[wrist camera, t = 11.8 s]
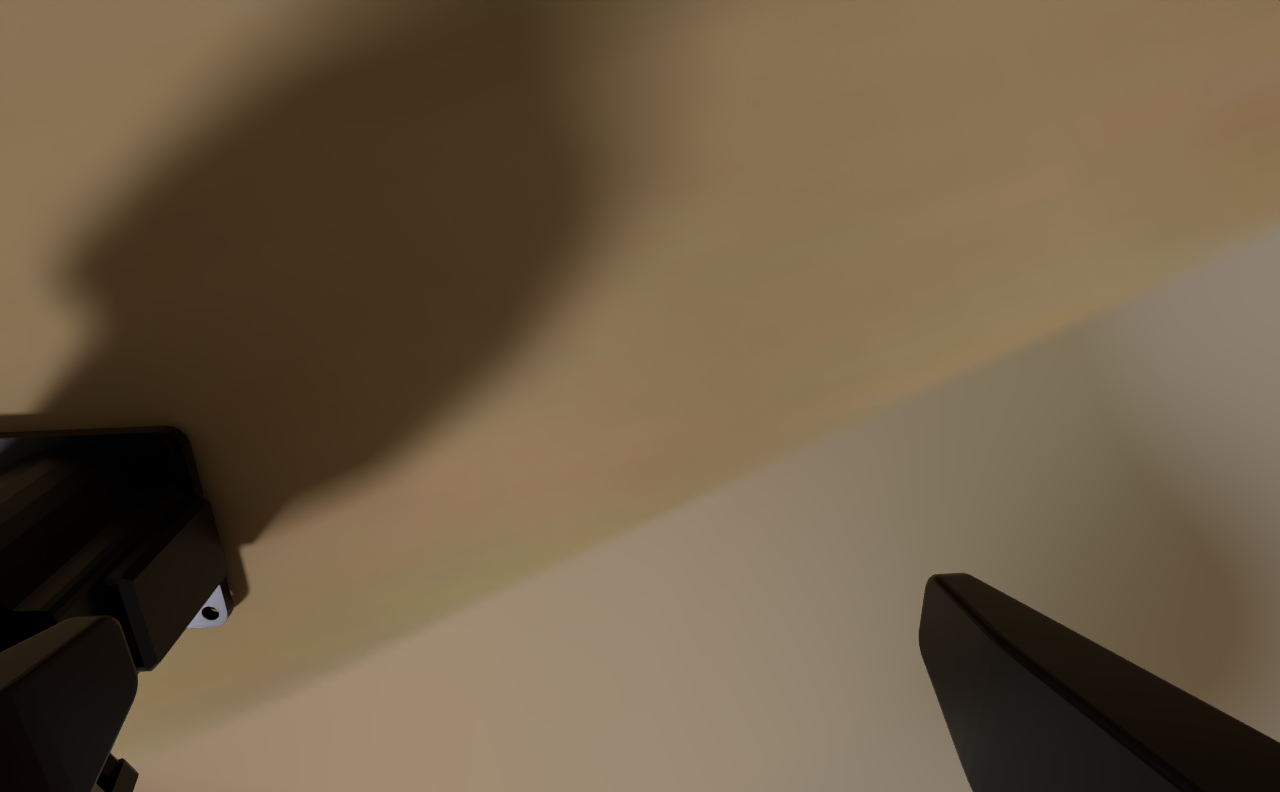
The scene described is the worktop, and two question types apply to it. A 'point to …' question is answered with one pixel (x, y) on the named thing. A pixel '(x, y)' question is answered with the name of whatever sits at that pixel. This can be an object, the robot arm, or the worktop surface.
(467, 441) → the worktop surface
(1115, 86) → the worktop surface
